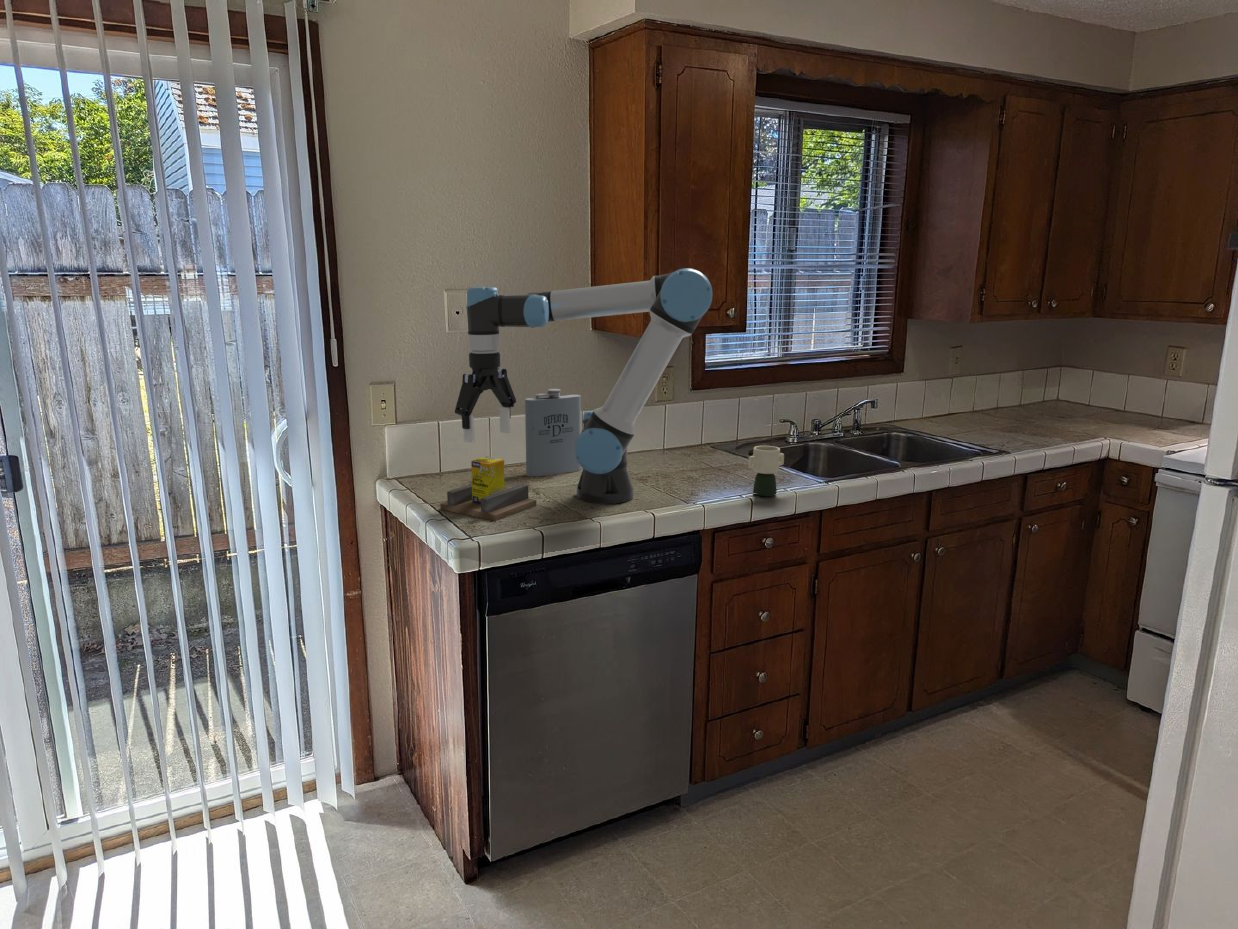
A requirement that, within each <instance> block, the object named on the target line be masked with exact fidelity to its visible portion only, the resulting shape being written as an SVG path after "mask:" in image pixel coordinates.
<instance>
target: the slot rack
mask: <svg viewBox="0 0 1238 929" xmlns="http://www.w3.org/2000/svg"><path fill="white" fill-rule="evenodd" d="M446 495H447V499H446V500H447V501H444V502H441V503H440V504H439V505H440V506H439V508H440V509H439V510H442V511H448V512H452V513H455V514H456V513H457V514H460V515H466V516H470V515H471V517H475V516H476V518H479V517H480V519H485V520H490V521H495V522H497V521H499V520H503V519H505V518H507V517H509V515H510V516H512V515H515V514H517V512H518V513H520V512H519V511H521V512H523V511H525V510H524V509H526V510H528V509H531V508H533V506H534V507H536V506H537V499H533V498H529V485H528V484H524V483H523V484H518V485H516V486H513V487H509V488H507V489H505V490H503V491H501V492H498V493H495V494H492V495H489V496H486V497H483V498H481V504H480V503H475V502H473V501H472V483H469V484H467V485H466V484H465V486H460V487H457V488H454V489H451V490H447V492H446ZM522 510H523V511H522ZM506 516H507V517H506Z"/></svg>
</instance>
